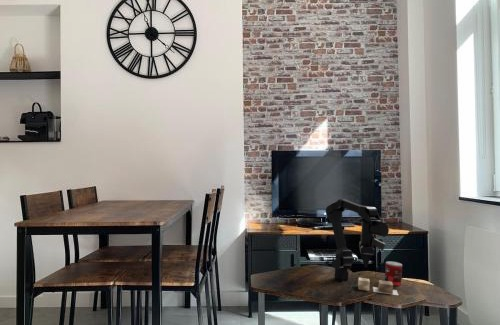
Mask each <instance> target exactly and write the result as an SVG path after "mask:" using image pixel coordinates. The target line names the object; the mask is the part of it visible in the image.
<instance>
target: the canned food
mask: <svg viewBox="0 0 500 325" xmlns="http://www.w3.org/2000/svg"><path fill="white" fill-rule="evenodd" d="M402 278H403V264H402V263H400V262H398V261H390V260H389V261H385V271H384V281H390V282H392V283H393V287H394V286H396V287H399V286H401V285H402Z"/></svg>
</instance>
